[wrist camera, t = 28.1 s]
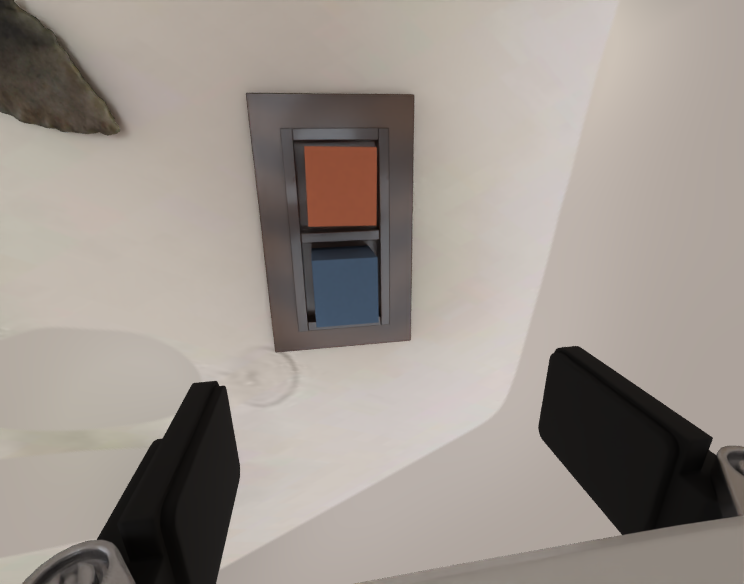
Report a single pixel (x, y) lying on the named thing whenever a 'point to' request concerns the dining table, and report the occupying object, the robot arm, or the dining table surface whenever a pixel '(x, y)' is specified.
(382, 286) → the dark brown flat tray
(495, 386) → the dining table surface
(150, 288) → the dining table surface
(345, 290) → the blue block
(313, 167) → the orange-brown block
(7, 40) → the arrowhead
